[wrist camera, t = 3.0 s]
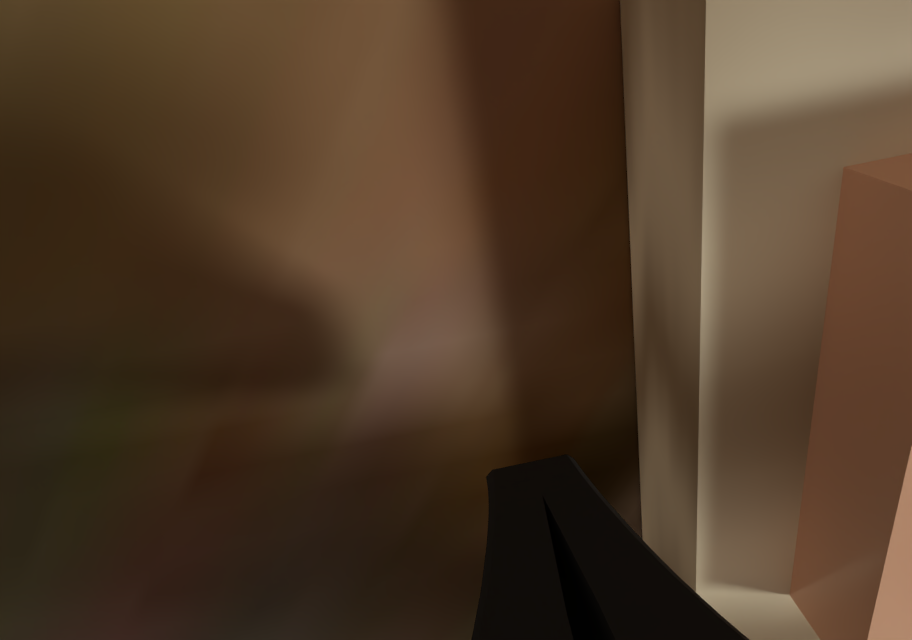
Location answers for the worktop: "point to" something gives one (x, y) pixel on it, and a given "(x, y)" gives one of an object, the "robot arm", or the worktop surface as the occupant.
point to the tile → (862, 421)
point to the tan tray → (743, 264)
